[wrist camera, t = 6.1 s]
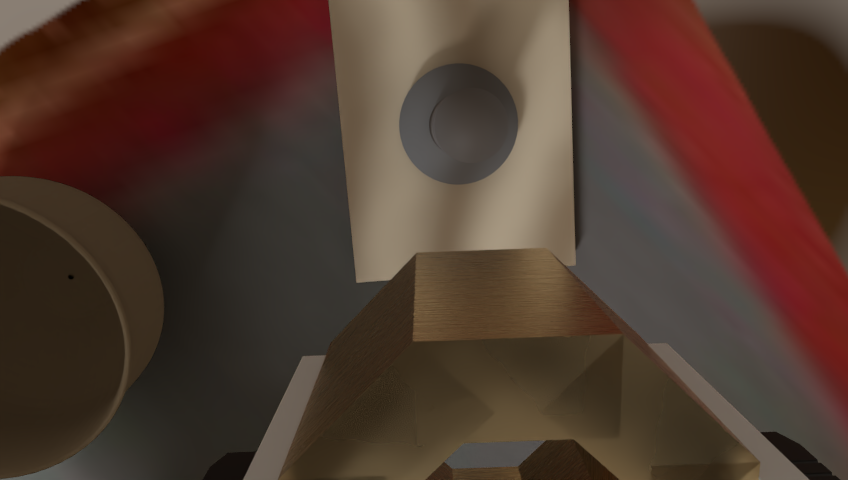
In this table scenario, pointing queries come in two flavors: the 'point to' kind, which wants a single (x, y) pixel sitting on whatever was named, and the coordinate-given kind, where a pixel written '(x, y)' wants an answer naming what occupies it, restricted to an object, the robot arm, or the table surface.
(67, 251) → the bowl
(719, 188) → the table surface
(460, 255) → the collar
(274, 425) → the robot arm
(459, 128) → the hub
